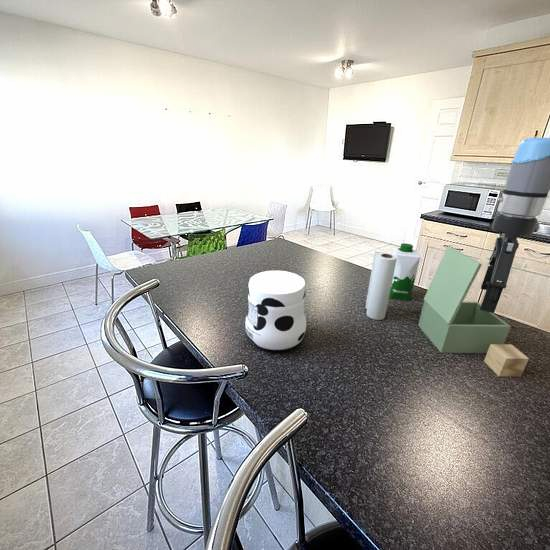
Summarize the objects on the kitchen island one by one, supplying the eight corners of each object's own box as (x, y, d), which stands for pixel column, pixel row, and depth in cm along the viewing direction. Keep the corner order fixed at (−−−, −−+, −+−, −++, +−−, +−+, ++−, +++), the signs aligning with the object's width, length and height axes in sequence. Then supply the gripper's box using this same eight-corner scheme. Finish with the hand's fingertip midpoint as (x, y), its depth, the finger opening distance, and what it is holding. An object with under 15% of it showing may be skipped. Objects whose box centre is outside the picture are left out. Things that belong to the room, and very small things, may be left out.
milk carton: (407, 293, 113) (418, 244, 105) (411, 304, 105) (424, 252, 97) (383, 290, 115) (393, 242, 107) (386, 301, 107) (396, 249, 99)
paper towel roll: (386, 321, 94) (399, 259, 86) (366, 319, 95) (377, 257, 87) (383, 310, 101) (394, 251, 92) (365, 308, 102) (375, 250, 93)
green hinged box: (469, 325, 93) (477, 301, 89) (500, 353, 81) (511, 326, 77) (417, 325, 93) (424, 300, 89) (440, 352, 80) (449, 325, 77)
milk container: (311, 327, 90) (315, 274, 83) (295, 363, 75) (299, 301, 68) (259, 316, 95) (259, 265, 88) (235, 347, 80) (232, 289, 73)
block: (504, 361, 77) (511, 344, 75) (520, 376, 72) (529, 358, 70) (483, 361, 77) (490, 344, 75) (498, 376, 72) (506, 358, 70)
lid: (450, 246, 82) (447, 245, 82) (482, 264, 70) (479, 263, 70) (425, 299, 89) (423, 299, 89) (451, 324, 77) (448, 324, 76)
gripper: (494, 205, 76) (471, 279, 84) (498, 222, 57) (466, 316, 65) (531, 208, 72) (502, 285, 81) (548, 228, 53) (508, 327, 61)
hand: (486, 299), depth 73 cm, fingers open, 13 cm apart
